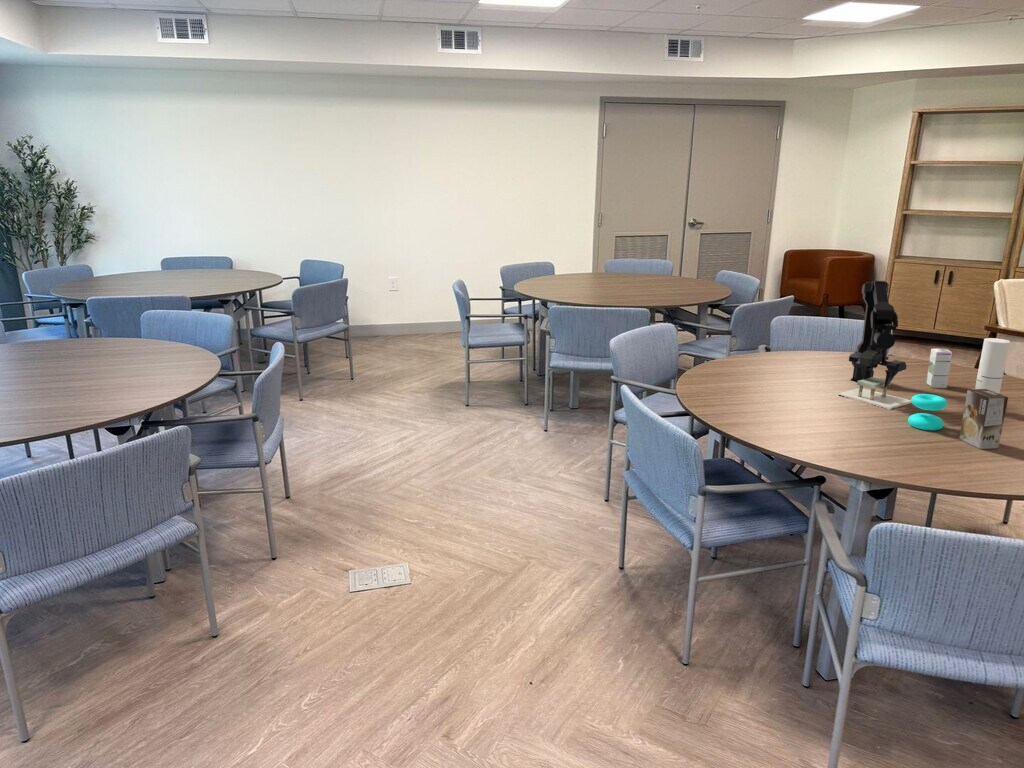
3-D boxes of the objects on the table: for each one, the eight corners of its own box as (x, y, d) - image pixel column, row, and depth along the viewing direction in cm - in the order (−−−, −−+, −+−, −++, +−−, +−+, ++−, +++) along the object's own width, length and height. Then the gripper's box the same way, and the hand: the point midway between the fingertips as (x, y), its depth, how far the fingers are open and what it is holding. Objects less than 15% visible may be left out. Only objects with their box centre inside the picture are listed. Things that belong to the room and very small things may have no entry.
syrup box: (947, 388, 260) (953, 351, 256) (930, 387, 261) (936, 351, 257) (941, 384, 265) (947, 348, 261) (924, 383, 267) (930, 348, 263)
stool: (871, 392, 254) (873, 376, 252) (888, 396, 249) (890, 380, 247) (855, 396, 249) (857, 380, 247) (872, 400, 244) (874, 385, 242)
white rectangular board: (837, 395, 253) (838, 393, 253) (860, 389, 260) (860, 387, 260) (889, 409, 236) (890, 407, 236) (912, 402, 243) (912, 400, 243)
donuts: (954, 401, 212) (922, 402, 212) (949, 431, 215) (917, 431, 215) (936, 392, 222) (905, 392, 222) (931, 421, 224) (901, 421, 225)
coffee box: (999, 448, 201) (1010, 397, 196) (979, 449, 200) (989, 398, 196) (976, 437, 209) (986, 388, 205) (957, 438, 209) (966, 389, 204)
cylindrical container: (988, 414, 230) (1002, 343, 223) (966, 409, 236) (979, 339, 229) (1000, 411, 233) (1014, 341, 226) (978, 406, 239) (991, 337, 232)
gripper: (842, 341, 247) (837, 381, 251) (892, 350, 231) (885, 394, 236) (860, 337, 252) (855, 377, 257) (910, 346, 237) (903, 389, 241)
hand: (873, 384), depth 247 cm, fingers open, 9 cm apart
